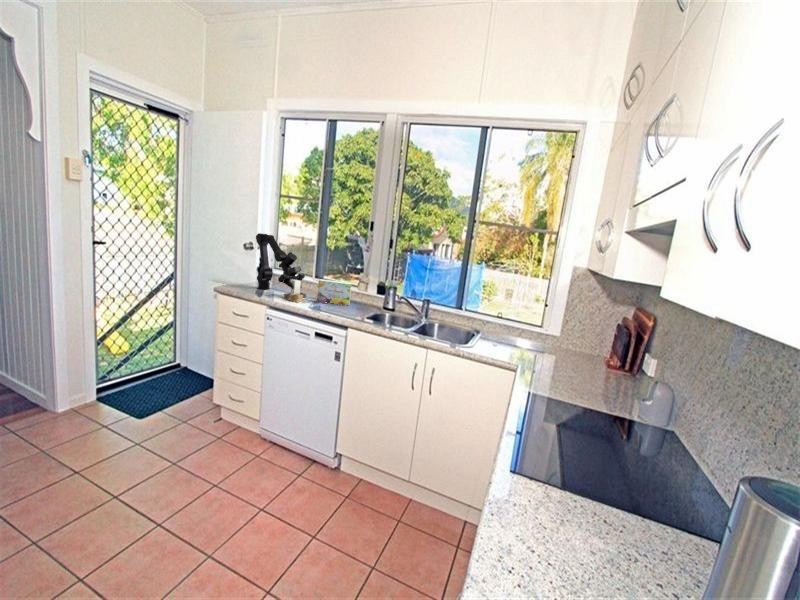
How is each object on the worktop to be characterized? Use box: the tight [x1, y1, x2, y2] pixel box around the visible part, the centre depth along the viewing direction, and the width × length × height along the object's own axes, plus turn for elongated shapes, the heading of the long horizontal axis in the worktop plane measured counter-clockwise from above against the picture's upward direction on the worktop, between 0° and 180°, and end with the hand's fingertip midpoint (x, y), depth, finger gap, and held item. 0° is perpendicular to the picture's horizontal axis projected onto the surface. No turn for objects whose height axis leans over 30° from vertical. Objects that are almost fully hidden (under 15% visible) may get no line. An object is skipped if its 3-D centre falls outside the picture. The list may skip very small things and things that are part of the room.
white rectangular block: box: [290, 279, 302, 294], centre depth 252 cm, size 3×5×12 cm, turn 147°
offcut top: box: [290, 293, 304, 300], centre depth 243 cm, size 7×4×2 cm, turn 64°
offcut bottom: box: [288, 297, 304, 304], centre depth 244 cm, size 8×5×2 cm, turn 56°
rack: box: [283, 291, 307, 300], centre depth 253 cm, size 6×14×3 cm, turn 147°
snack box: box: [316, 278, 352, 306], centre depth 251 cm, size 21×6×15 cm, turn 92°
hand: (297, 288), depth 251 cm, fingers open, 6 cm apart
